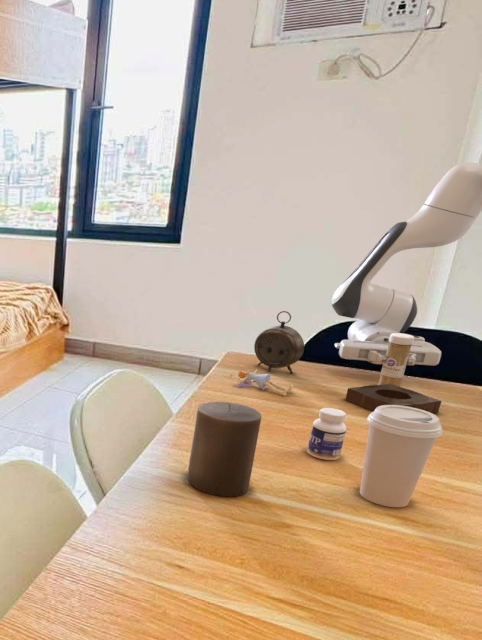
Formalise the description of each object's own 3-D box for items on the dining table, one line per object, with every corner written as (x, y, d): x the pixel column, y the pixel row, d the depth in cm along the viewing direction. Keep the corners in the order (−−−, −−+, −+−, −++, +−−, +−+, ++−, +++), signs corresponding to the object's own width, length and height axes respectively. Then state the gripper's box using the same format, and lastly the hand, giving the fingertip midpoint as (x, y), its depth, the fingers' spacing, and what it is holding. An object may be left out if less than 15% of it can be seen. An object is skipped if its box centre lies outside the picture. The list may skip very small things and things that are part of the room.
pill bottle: (302, 447, 122) (311, 405, 119) (332, 449, 121) (342, 407, 118) (313, 459, 117) (323, 415, 114) (344, 461, 116) (355, 417, 113)
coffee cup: (357, 506, 101) (379, 420, 96) (342, 480, 110) (362, 400, 105) (429, 516, 98) (457, 428, 93) (408, 489, 106) (432, 406, 101)
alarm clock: (299, 373, 165) (312, 313, 159) (289, 377, 162) (302, 316, 156) (257, 364, 173) (268, 306, 168) (247, 367, 170) (257, 309, 165)
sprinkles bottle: (375, 388, 153) (388, 334, 149) (379, 383, 156) (392, 331, 152) (398, 392, 150) (412, 338, 146) (402, 388, 153) (416, 334, 148)
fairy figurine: (283, 386, 145) (230, 369, 154) (276, 405, 147) (225, 387, 156) (300, 375, 152) (250, 360, 161) (294, 393, 154) (244, 377, 163)
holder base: (387, 394, 149) (390, 383, 148) (440, 413, 137) (444, 401, 136) (342, 399, 146) (345, 387, 145) (393, 419, 135) (396, 406, 134)
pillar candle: (238, 503, 103) (254, 419, 98) (178, 484, 109) (190, 404, 104) (255, 482, 110) (271, 402, 105) (197, 465, 116) (209, 389, 111)
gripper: (335, 331, 165) (348, 344, 153) (430, 337, 157) (453, 351, 145) (330, 354, 167) (343, 369, 155) (424, 361, 159) (445, 377, 147)
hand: (397, 361), depth 150 cm, fingers closed on sprinkles bottle, 4 cm apart
